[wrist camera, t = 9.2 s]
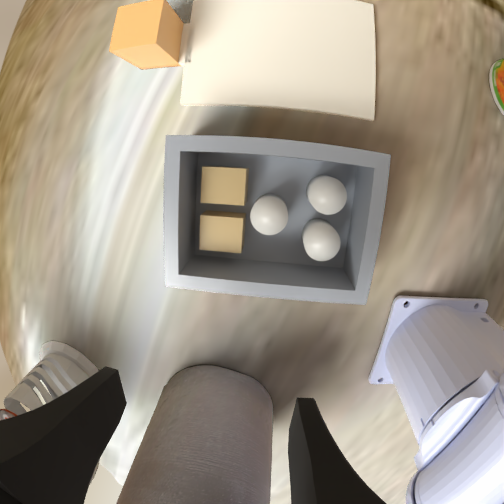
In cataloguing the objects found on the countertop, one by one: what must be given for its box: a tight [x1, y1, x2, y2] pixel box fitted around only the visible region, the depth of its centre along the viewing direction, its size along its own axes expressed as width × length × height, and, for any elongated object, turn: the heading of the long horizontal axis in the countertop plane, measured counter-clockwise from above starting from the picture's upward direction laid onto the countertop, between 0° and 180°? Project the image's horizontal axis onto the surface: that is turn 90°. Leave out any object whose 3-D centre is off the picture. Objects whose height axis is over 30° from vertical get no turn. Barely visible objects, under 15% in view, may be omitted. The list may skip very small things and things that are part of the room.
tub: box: [163, 135, 391, 305], centre depth 16 cm, size 11×8×4 cm
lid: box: [109, 0, 376, 121], centre depth 13 cm, size 15×9×4 cm, turn 86°
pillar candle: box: [117, 365, 273, 504], centre depth 17 cm, size 10×10×15 cm
